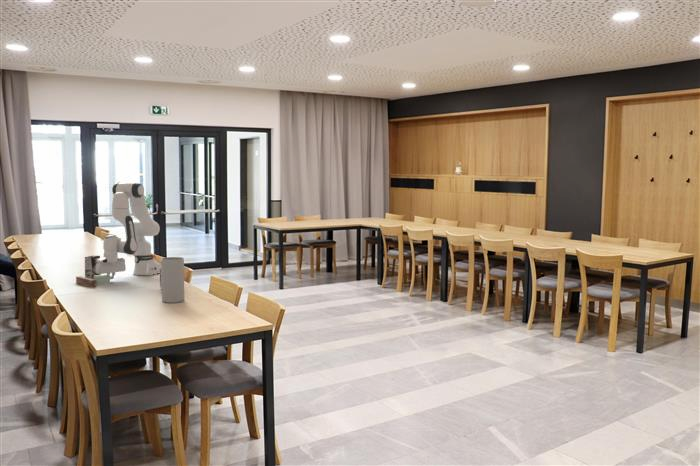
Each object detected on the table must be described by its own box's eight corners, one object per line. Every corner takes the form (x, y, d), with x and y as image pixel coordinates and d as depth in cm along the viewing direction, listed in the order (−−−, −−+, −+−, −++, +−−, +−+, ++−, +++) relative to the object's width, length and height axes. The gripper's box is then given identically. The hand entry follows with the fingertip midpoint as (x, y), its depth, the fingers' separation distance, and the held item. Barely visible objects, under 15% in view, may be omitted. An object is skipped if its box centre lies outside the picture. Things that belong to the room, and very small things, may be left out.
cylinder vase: (172, 304, 343) (171, 260, 341) (157, 301, 350) (156, 258, 348) (188, 300, 354) (188, 258, 352) (174, 297, 361) (173, 256, 358)
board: (80, 282, 404) (80, 276, 404) (96, 286, 392) (95, 279, 391) (76, 283, 402) (76, 276, 401) (91, 287, 389) (91, 280, 389)
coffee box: (93, 280, 413) (92, 257, 411) (84, 280, 414) (84, 256, 413) (101, 278, 422) (100, 255, 420) (92, 278, 423) (92, 255, 422)
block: (105, 281, 411) (105, 274, 410) (110, 283, 405) (109, 276, 404) (93, 283, 406) (93, 275, 405) (97, 284, 400) (97, 277, 399)
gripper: (122, 257, 419) (122, 276, 420) (94, 259, 403) (94, 280, 404) (127, 257, 415) (127, 277, 416) (99, 260, 399) (99, 281, 400)
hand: (111, 279), depth 410 cm, fingers closed
